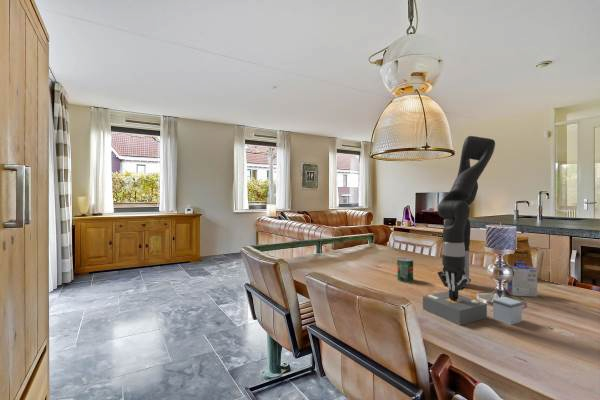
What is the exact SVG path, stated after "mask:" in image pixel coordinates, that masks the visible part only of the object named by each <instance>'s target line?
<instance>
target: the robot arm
mask: <svg viewBox="0 0 600 400" xmlns="http://www.w3.org/2000/svg"><path fill="white" fill-rule="evenodd" d="M495 147H496V142H495V140H494V139H492V138H488V137H480V136H473V135H469V136H467V137H465V139H464V141H463V145H462V149H461V154H460V161H459V166H458V167H459V168H458V172H457V176H456V178H455V180H454V182H453V185H452V186H451V188H450V190H449V191H448V192H447V193H446V195H444V197H443V198H442V199H441V200H440V201H439V203H438V206H437V214H438V216H439V217H441V218H442V219H445V221H444V224H443V225H444V227H443V228H442V229H443V230H442V245H441V247H442V248H441V250H442V253H441V254H442V256H441V257H442V259H441V260H442V261H441V263H442V264H441V265H442V266H443V267H442V270H440V271H438V272H437V275H438V277H439V279H440V280H441V282H442V284H443V287H445V288H448V291H449V297H450V300H453V301H456V300H457V299H458V295H459V292H460V291H463V290H465V288H466V287H469V286H470V283H471V280H472V279H471V278H470V246H471V245H470V244H471V228H472V227H471V221H470V219H469V215H470V212H471V211H470V205H471V204H472V203H473V202H474V201H475V199H476V197H477V193H478V190H479V183H478V180H479V178H480V177H481V175H482V173H483V172H484V170H485V169H486V167H487V166H488V164H489V162H490V160H491V158H492V156H493V154H494V151H495ZM471 160H474V161H477V162H476V163H475V164H474V165H472V166H471Z"/></svg>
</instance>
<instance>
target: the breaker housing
mask: <svg viewBox="0 0 600 400" xmlns="http://www.w3.org/2000/svg"><path fill="white" fill-rule="evenodd" d="M448 298H450V297H449V290H448V291H443V292H438V293H432V294H428V295H423V296H422V310H424V311H427V312H429V313H431V314H433V315H436V316H438V317H440V318H443V319H444V320H447V321H449V322H451V323H454V324H456V325H458V326H462V325H463V326H464V325H466V324H470V323H473V322H476V321H477V320H478V321H481V320H485V319H487V318H488V314H487V313H488V312H487V311H488V305H487V303H484V302H481V301H479V300H477V299H473V298H469V297H467V296H463V295H460V294H458V300H461V301H463V302H459V303H452V302H450V301H447V300H444V299H448Z"/></svg>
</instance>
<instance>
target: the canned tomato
mask: <svg viewBox="0 0 600 400" xmlns="http://www.w3.org/2000/svg"><path fill="white" fill-rule="evenodd" d="M396 259H397V264H396V265H397V266H396V267H397V268H396V269H397V273H396V274H397V275H396V277H397V281H398V282H402V283H412V282H414V259H413V258H410V257H398V258H396Z"/></svg>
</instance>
